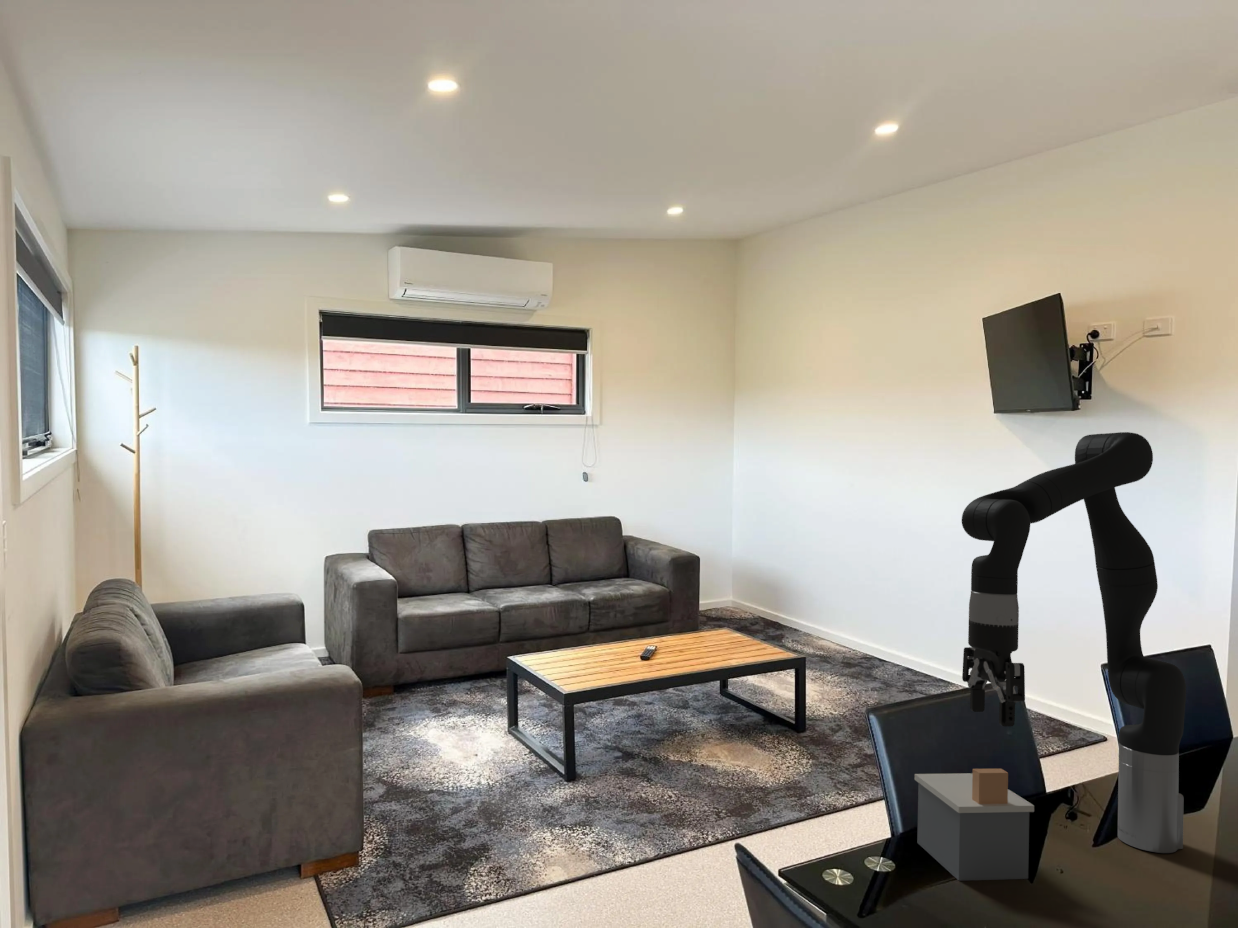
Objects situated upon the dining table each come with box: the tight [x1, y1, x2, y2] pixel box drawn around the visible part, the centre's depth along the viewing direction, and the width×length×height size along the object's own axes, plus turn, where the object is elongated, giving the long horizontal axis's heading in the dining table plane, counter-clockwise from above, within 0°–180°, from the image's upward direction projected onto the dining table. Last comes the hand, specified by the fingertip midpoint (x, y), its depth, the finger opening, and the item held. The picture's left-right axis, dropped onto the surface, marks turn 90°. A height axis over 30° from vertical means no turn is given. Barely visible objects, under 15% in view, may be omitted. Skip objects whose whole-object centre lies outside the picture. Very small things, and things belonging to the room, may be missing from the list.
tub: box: [916, 783, 1030, 881], centre depth 140 cm, size 12×14×11 cm
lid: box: [914, 768, 1035, 813], centre depth 140 cm, size 13×15×7 cm
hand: (991, 718), depth 135 cm, fingers open, 8 cm apart
